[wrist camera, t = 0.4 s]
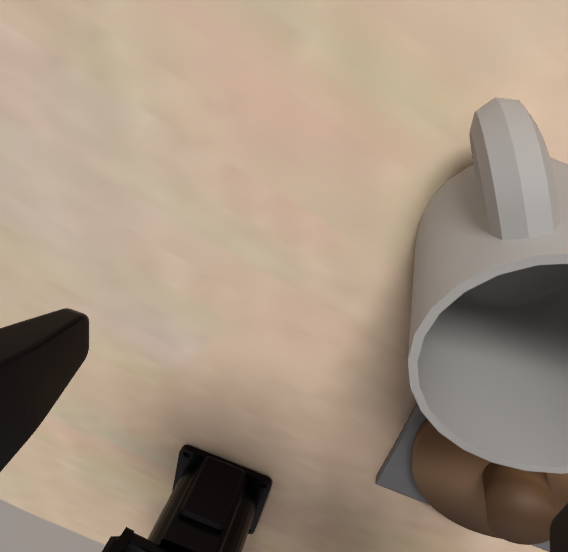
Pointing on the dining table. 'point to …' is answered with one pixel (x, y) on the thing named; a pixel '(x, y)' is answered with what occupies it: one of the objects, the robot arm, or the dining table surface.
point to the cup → (496, 298)
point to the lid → (486, 490)
